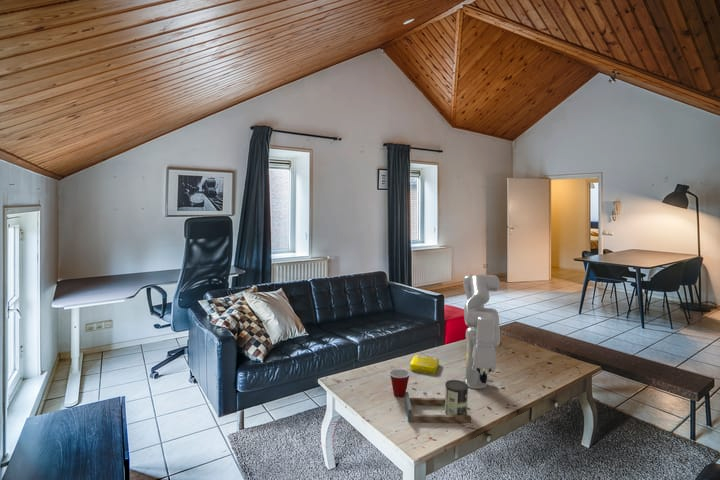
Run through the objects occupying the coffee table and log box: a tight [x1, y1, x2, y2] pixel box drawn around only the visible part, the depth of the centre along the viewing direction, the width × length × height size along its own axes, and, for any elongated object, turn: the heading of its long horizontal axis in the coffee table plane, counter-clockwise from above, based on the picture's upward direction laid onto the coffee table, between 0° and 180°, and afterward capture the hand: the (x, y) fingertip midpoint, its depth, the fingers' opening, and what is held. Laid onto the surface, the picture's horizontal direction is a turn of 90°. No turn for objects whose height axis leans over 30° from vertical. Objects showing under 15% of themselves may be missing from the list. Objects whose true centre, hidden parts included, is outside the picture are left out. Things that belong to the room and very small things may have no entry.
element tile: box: [409, 354, 440, 375], centre depth 229 cm, size 15×15×5 cm
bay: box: [404, 391, 472, 424], centre depth 180 cm, size 28×16×6 cm, turn 89°
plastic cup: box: [388, 368, 411, 398], centre depth 196 cm, size 11×11×12 cm
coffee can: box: [444, 379, 469, 415], centre depth 179 cm, size 10×10×14 cm
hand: (483, 381), depth 178 cm, fingers closed
